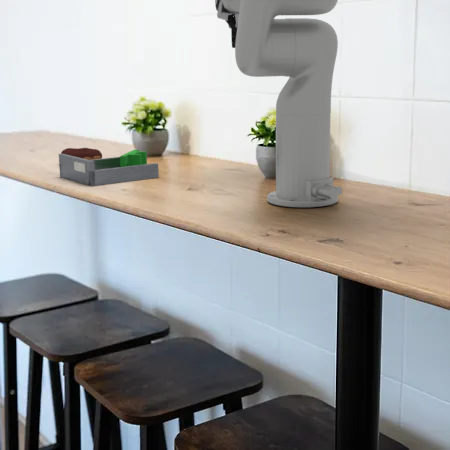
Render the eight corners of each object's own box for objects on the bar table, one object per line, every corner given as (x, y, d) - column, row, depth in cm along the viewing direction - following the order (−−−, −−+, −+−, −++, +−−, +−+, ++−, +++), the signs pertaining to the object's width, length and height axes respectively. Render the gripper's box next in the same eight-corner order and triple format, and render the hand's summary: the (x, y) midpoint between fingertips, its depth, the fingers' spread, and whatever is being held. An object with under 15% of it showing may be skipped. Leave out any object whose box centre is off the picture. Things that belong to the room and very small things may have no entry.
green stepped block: (137, 177, 169) (136, 156, 168) (120, 177, 169) (119, 156, 168) (150, 168, 179) (149, 149, 178) (135, 168, 180) (134, 149, 179)
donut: (106, 166, 185) (106, 149, 184) (65, 169, 181) (64, 152, 180) (97, 160, 194) (96, 145, 193) (58, 163, 190) (57, 147, 189)
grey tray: (158, 177, 166) (157, 154, 165) (90, 186, 157) (88, 161, 156) (124, 169, 178) (123, 147, 177) (59, 176, 169) (57, 154, 168)
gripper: (220, -48, 154) (222, 47, 158) (276, -43, 163) (277, 47, 167) (198, -43, 160) (200, 48, 163) (253, -39, 169) (254, 48, 172)
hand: (239, 47), depth 165 cm, fingers closed
